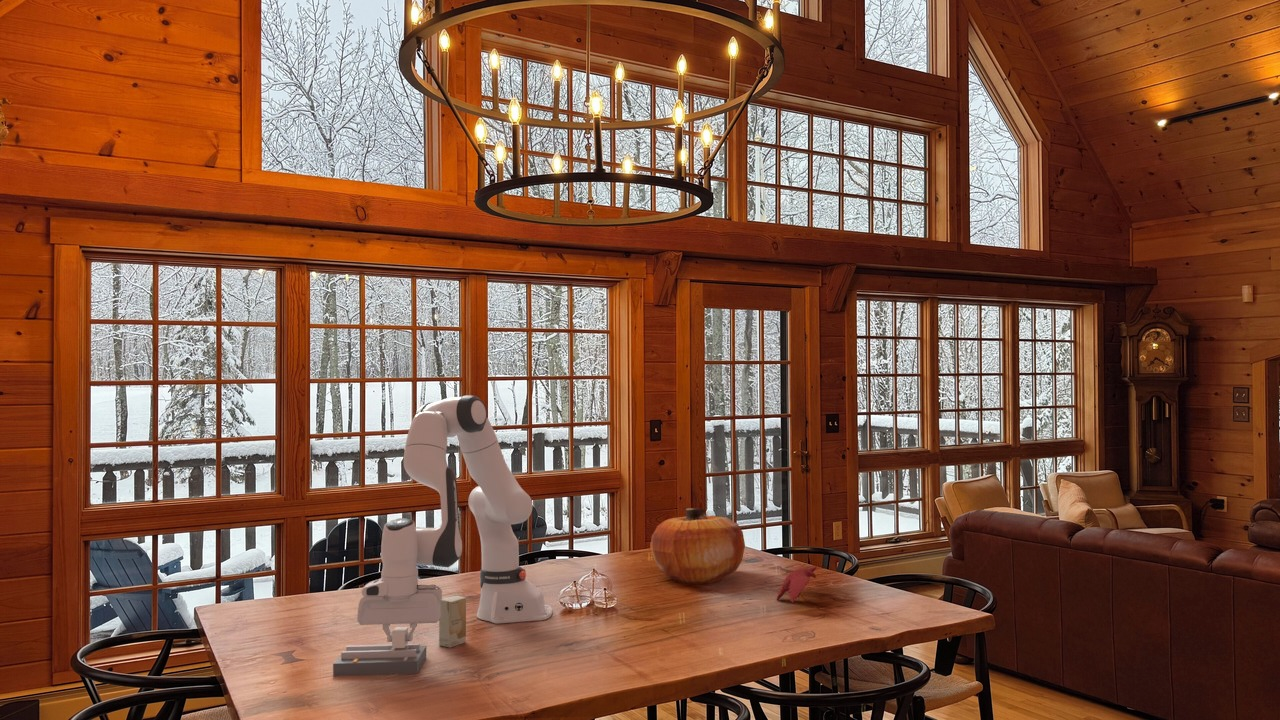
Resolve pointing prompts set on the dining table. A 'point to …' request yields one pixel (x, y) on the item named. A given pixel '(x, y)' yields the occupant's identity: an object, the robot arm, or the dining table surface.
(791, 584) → the decorative bird sculpture
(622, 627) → the dining table surface
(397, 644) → the fader knob
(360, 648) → the fader console
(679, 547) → the pumpkin
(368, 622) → the robot arm
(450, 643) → the skincare box
